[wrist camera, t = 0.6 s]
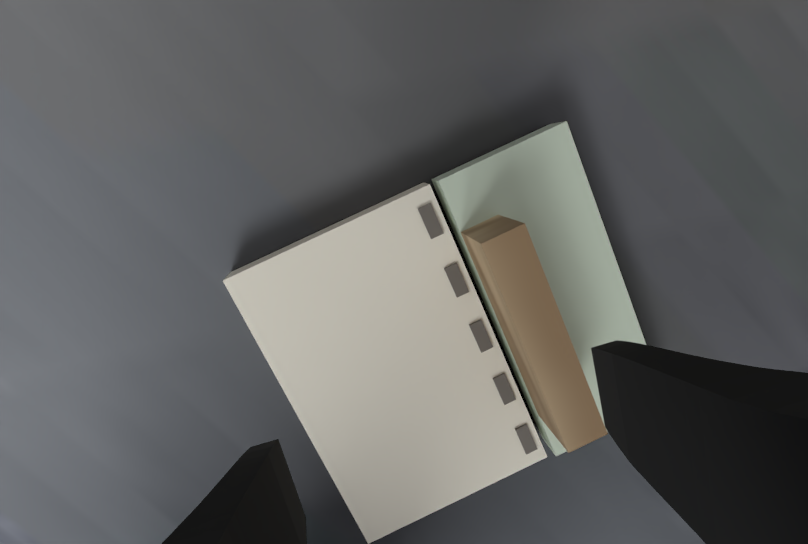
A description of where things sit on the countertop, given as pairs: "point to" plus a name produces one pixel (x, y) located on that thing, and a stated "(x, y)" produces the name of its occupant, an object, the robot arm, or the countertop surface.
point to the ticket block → (389, 361)
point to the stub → (543, 274)
